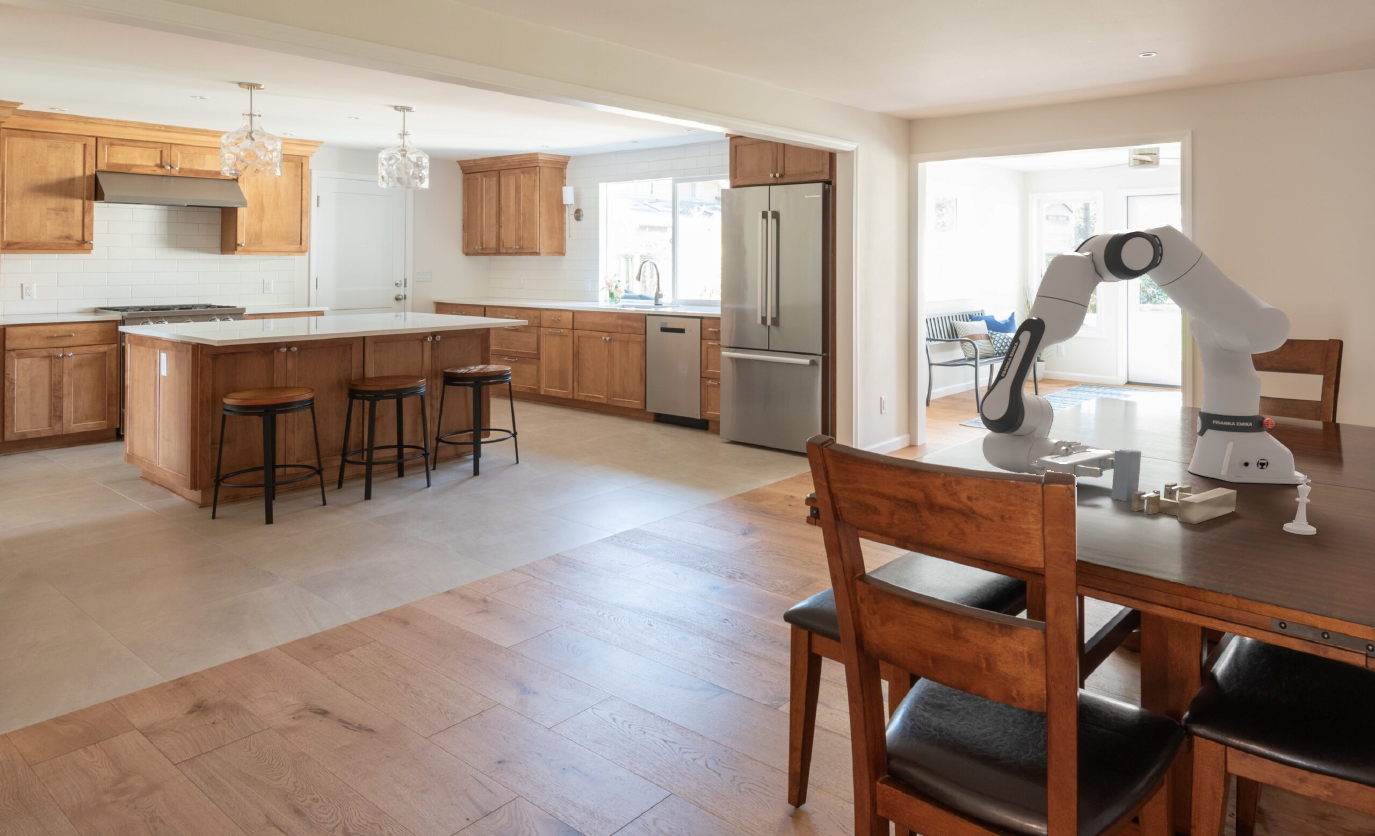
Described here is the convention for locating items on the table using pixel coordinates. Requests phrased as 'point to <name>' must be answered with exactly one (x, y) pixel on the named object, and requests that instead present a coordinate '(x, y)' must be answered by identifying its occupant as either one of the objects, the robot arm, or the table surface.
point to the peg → (1126, 474)
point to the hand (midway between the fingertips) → (1113, 470)
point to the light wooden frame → (1188, 503)
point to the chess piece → (1301, 512)
